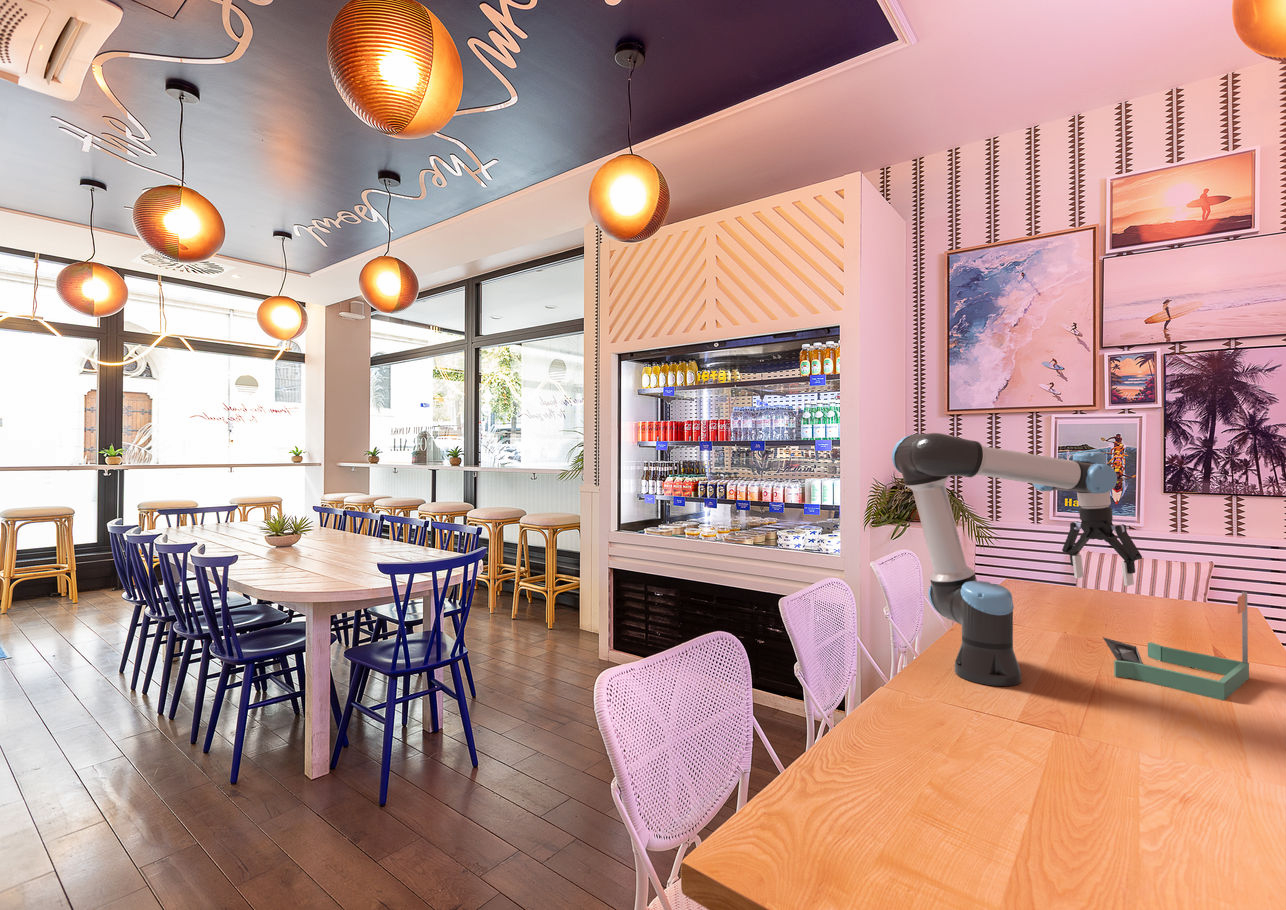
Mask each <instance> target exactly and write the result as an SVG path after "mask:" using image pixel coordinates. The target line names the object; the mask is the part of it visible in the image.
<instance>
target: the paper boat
mask: <svg viewBox="0 0 1286 910" xmlns="http://www.w3.org/2000/svg"><path fill="white" fill-rule="evenodd" d="M1102 639H1103V640H1104V642H1105V643H1106V645H1107V647H1108V648H1109V650H1110V651H1111V653H1112V655H1113V656H1114V658H1115V659H1116V660H1118V661H1127V662H1134V663H1140V664H1144V662H1143V661H1142V657H1141V655H1140V652H1139V650H1138V647H1137V646H1136V645H1132V644H1129V643H1125V642H1122V641H1118V640H1114V639H1110V638H1107V637H1104V636H1102Z"/></svg>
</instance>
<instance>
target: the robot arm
mask: <svg viewBox="0 0 1286 910" xmlns="http://www.w3.org/2000/svg"><path fill="white" fill-rule="evenodd" d="M891 461H892V464H893V466H894V468H895V469H896V470H897V471H898V472H899V473H901V475H902V478H903V481H904V482H903V483H904V486H905V487H907V488H909V489H910V490H911V491H912V494H913V497H914V498H913V499H914V501H915V505H916V508H917V509H916V510H917V512H918V513H917V514H918V516H919V520H920V524H921V527H922V532H923V534H924V535H923V536H924V539H925V543H926V546H927V550H928V553H929V558H930V561H931V565H932V569H933V572H932V573H931V574H930V575H929V579H930V580H929V581H930V586H929V588H928V600H929V603H930V605H931V606H932V608H933V609H934V610H935V611H936V612H937V613H939V615H940V616H942V617H944V618H946V619H947V620H951V621H953V622H955V623H957V624H959V625H961V645H960V648H959V650H958V652H957V655H956V658H955V662H954V673H955V675H957V676H958V677H960V678H962V679H964V680H967V681H970V682H974V683H977V684H981V685H986V686H994V687H995V686H996V687H1011V686H1016V685H1019V684H1020V683H1022V670H1021V668H1020V664H1019V663H1018V659H1017V656H1016V654H1015V651H1014V608H1015V607H1014V606H1015V605H1014V601H1013V595H1012V592H1011V591H1010V590H1009V589H1008V588H1006V587H1005V586H1003V585H1000V584H998V583H991V582H989V581H982V580H977V577H976V572H975V570H974V569H973V568H972V567H969V565H968V564H967V562H966V558H965V555H964V552H963V548H962V543H961V539H960V535H959V532H958V529H957V524H956V520H955V517H954V512H953V508H952V506H951V505H952V504H951V503H950V502H951V500H950V498H949V495H948V491H947V486H946V483H947V481H948V479H949V478H950V477H965V478H974V477H976V476H983V477H990V478H994V479H995V478H996V479H1003V480H1008V481H1015V482H1023V483H1028V484H1032V486H1033V487H1034V488H1035V489H1036V490H1037V491H1039V492H1052V491H1067V492H1076V495H1077V505H1078V506H1079V508H1078V513H1079V514H1078V515H1079V520H1080V521H1081V522H1080V521H1072V522H1070V524H1069V528H1070V529H1069V532H1068V534H1067V536H1066V539H1065V542H1064V545H1063V547H1062V549H1061V551H1062V553H1066V554H1068V555H1069V559H1070V565H1071V567H1073V574H1074V579H1081V578H1084V577H1085V575H1084V568H1083V567H1084V566H1083V558H1082V554H1080V551H1082V549H1083V548H1084V546H1085V545H1086V544H1087V543H1088V542H1089V541H1090V540H1099V541H1103V540H1104V542H1106V543H1108V544H1109V545H1110V546H1111V548H1112V549H1113V550H1114V551H1115V552H1116V553H1117V554H1118V555H1119V556H1120V557H1121V558H1122V559H1123V561H1121V566H1122V567H1121V568H1122V575H1123V576H1122V577H1123V585H1124V586H1125V587H1128V586H1132V585H1134V584H1135V581H1134V574H1135V573H1136V566H1135V565H1136V564H1135V562H1136V561H1139V560H1142V559H1143V555H1142V554H1141V553H1140V551H1139V549H1138V548H1137V546H1136V545H1135V543H1134V541H1133V540H1132V537H1130V535H1129V533H1128V531H1127V527H1126V525H1125V524H1122V523H1121V524H1118V525H1114V524H1113V518H1114V516H1113V508H1112V507H1111V505H1112V504H1111V503H1112V501H1111V494H1110V493H1111V491H1112V490H1114V489H1115V487H1116V485H1117V483H1118V474H1117V472H1116V471H1115V469H1114V468H1113V467H1112V466H1110V465H1108V463H1107V459H1106V455H1105V453H1104V452H1101V451H1085V452H1084V451H1083V452H1076V453H1074V454H1073V455H1072V460H1070V459H1065V458H1059V457H1057V458H1056V457H1051V456H1045V455H1037V454H1034V453H1033V454H1032V453H1027V452H1020V451H1013V450H1008V449H1001V448H995V447H990V446H985V445H984V446H983V445H982V443H981V442H980V441H976V440H970V439H967V438H962V437H958V436H953V435H949V434H945V433H940V432H939V433H938V432H932V433H915V434H914V433H913V434H910V435H907V436H904V437H902V438H901V439H900V440H898V441H897V442H896V444H895V445H894V447H893V449H892V452H891ZM1080 530H1082V531H1083V532H1082V533H1081V535H1080V536H1079V533H1080ZM1115 533H1116V534H1115ZM1078 537H1079V538H1078ZM1077 539H1078V540H1077ZM1076 540H1077V541H1076Z"/></svg>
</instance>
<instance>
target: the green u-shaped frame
mask: <svg viewBox="0 0 1286 910" xmlns="http://www.w3.org/2000/svg"><path fill="white" fill-rule="evenodd" d="M1237 614H1238V615H1239V614H1241V637H1242V638H1241V646H1242V647H1241V648H1242V649H1241V650H1242V651H1241V654H1242V655H1241V658H1242V660H1241V661H1239V660H1235V659H1229V658H1226V657H1225V658H1224V657H1221V656H1220V657H1219V656H1216V655H1215V656H1213V655H1209V654H1204V653H1199V652H1193V651H1189V650H1185V649H1179V648H1173V647H1168V646H1164V645H1161V644H1159V643H1154V642H1147V657H1148V656H1149V657H1148V658H1150V657H1151V658H1150V659H1153V658H1154V659H1153V660H1156V659H1157V660H1156V661H1158V660H1160V661H1159V662H1162V661H1163V662H1162V663H1166V662H1168V663H1167V664H1171V663H1173V664H1172V665H1175V664H1177V666H1180V665H1182V666H1181V667H1185V666H1187V667H1186V668H1190V667H1192V668H1191V669H1194V668H1197V669H1196V670H1199V669H1202V670H1201V671H1204V670H1206V671H1205V672H1208V671H1210V672H1209V673H1213V672H1215V674H1218V673H1220V674H1219V675H1223V674H1224V675H1223V677H1221V678H1220V679H1219V680H1218V679H1212V678H1208V677H1203V676H1198V675H1194V674H1189V673H1185V672H1180V671H1176V670H1171V669H1167V668H1162V667H1157V666H1154V665H1153V666H1152V665H1148V664H1144V663H1143V664H1140V663H1134V662H1127V661H1118V660H1117V659H1116V660H1115V659H1114V660H1113V664H1114V665H1113V671H1114V672H1113V675H1114V677H1115V678H1119V677H1124V678H1123V679H1128V678H1132V679H1131V680H1135V679H1137V680H1136V681H1139V680H1142V681H1141V682H1144V681H1145V683H1148V682H1150V683H1149V684H1152V683H1154V684H1153V685H1156V684H1158V685H1157V686H1161V685H1162V686H1161V687H1165V686H1166V688H1169V687H1170V689H1173V688H1174V690H1177V689H1178V690H1179V691H1181V692H1186V691H1187V692H1186V693H1191V694H1194V693H1195V695H1199V696H1202V697H1207V698H1211V699H1216V700H1220V701H1226V699H1228V698H1229V697H1230V696H1231V695H1232V694H1234V692H1236V691H1237V690H1238V689H1239V688H1241V687H1242V686H1243V685H1244V684H1245V683H1246V682H1247V681H1248V680H1250V663H1249V655H1248V654H1249V652H1248V651H1249V648H1248V647H1249V646H1248V645H1249V643H1248V642H1249V641H1248V639H1249V638H1248V635H1249V633H1248V632H1249V631H1248V627H1249V626H1248V623H1249V622H1248V619H1249V618H1248V616H1249V615H1248V592H1247V591H1241V595H1239V596H1238V597H1237ZM1246 680H1247V681H1246ZM1245 681H1246V682H1245ZM1244 682H1245V683H1244ZM1243 683H1244V684H1243ZM1242 684H1243V685H1242ZM1235 690H1236V691H1235Z"/></svg>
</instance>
